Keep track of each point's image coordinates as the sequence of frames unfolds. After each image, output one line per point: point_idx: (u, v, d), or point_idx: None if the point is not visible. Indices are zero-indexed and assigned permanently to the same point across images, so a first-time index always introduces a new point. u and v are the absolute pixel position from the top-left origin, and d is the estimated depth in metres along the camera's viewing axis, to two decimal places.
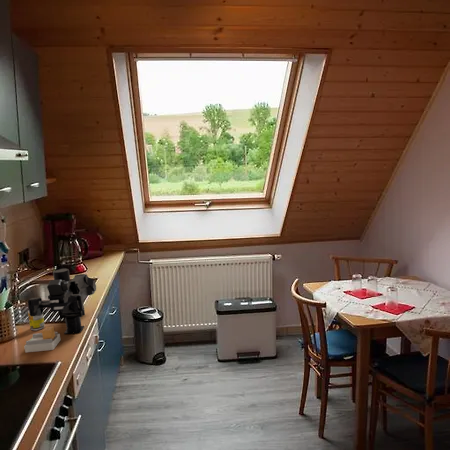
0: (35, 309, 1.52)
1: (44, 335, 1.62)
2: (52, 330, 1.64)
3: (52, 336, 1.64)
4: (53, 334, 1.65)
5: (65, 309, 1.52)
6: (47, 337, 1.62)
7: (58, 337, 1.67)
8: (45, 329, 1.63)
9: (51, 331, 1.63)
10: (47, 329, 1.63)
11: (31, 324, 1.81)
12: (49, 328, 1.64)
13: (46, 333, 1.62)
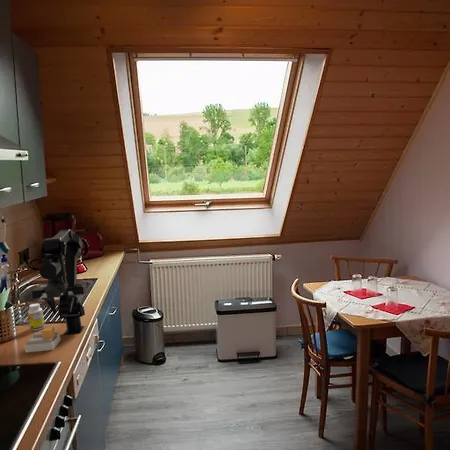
0: (52, 309, 1.62)
1: (44, 335, 1.62)
2: (52, 330, 1.64)
3: (52, 336, 1.64)
4: (53, 334, 1.65)
5: (71, 308, 1.63)
6: (47, 337, 1.62)
7: (58, 337, 1.67)
8: (45, 329, 1.63)
9: (51, 331, 1.63)
10: (47, 329, 1.63)
11: (31, 324, 1.81)
12: (49, 328, 1.64)
13: (46, 333, 1.62)
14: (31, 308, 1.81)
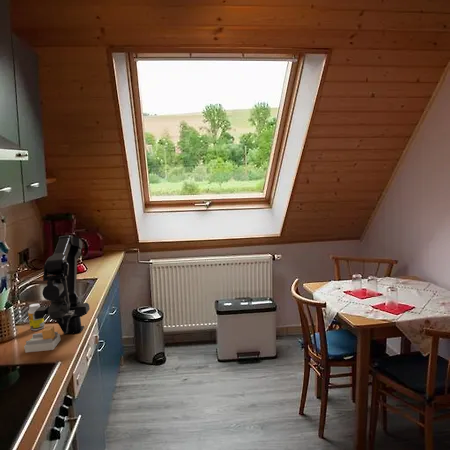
0: (61, 328, 1.63)
1: (44, 335, 1.62)
2: (52, 330, 1.64)
3: (52, 336, 1.64)
4: (53, 334, 1.65)
5: (66, 328, 1.64)
6: (47, 337, 1.62)
7: (58, 337, 1.67)
8: (45, 329, 1.63)
9: (51, 331, 1.63)
10: (47, 329, 1.63)
11: (31, 324, 1.81)
12: (49, 328, 1.64)
13: (46, 333, 1.62)
14: (31, 308, 1.81)
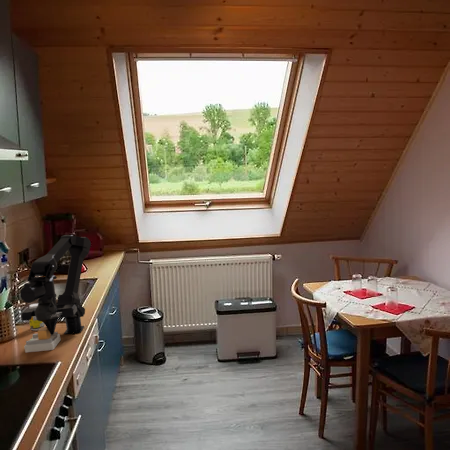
0: (49, 329, 1.63)
1: (39, 335, 1.62)
2: (48, 330, 1.64)
3: (48, 336, 1.64)
4: (49, 334, 1.65)
5: (54, 330, 1.64)
6: (42, 337, 1.62)
7: (58, 337, 1.67)
8: (40, 329, 1.63)
9: (46, 331, 1.63)
10: (43, 329, 1.63)
11: (31, 324, 1.81)
12: (45, 329, 1.64)
13: (41, 333, 1.62)
14: None
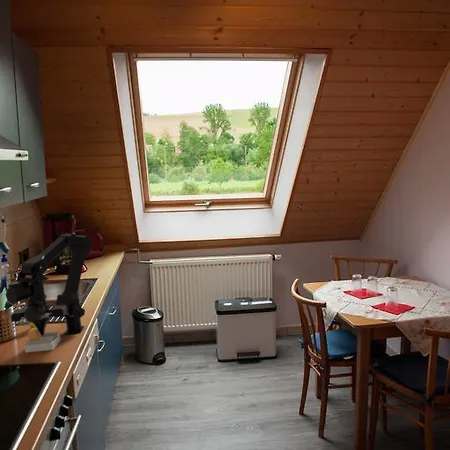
0: (39, 330, 1.63)
1: (30, 336, 1.62)
2: (38, 331, 1.64)
3: (38, 337, 1.64)
4: (39, 335, 1.65)
5: (44, 331, 1.64)
6: (33, 338, 1.62)
7: (58, 337, 1.67)
8: (31, 330, 1.63)
9: (37, 332, 1.63)
10: (33, 330, 1.63)
11: (31, 324, 1.81)
12: (35, 329, 1.63)
13: (32, 334, 1.62)
14: None
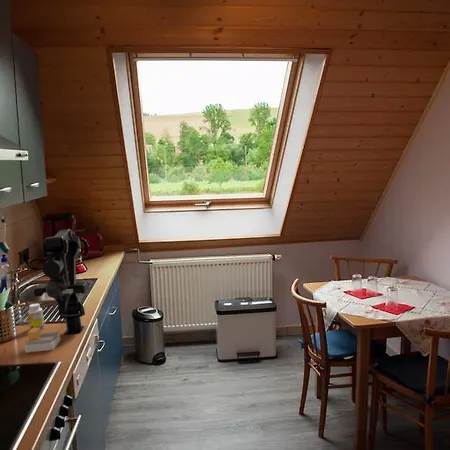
0: (60, 306, 1.62)
1: (30, 336, 1.62)
2: (38, 331, 1.64)
3: (38, 337, 1.64)
4: (39, 335, 1.65)
5: (65, 307, 1.63)
6: (33, 338, 1.62)
7: (58, 337, 1.67)
8: (31, 330, 1.63)
9: (37, 332, 1.63)
10: (33, 330, 1.63)
11: (31, 324, 1.81)
12: (35, 329, 1.63)
13: (32, 334, 1.62)
14: (31, 308, 1.81)
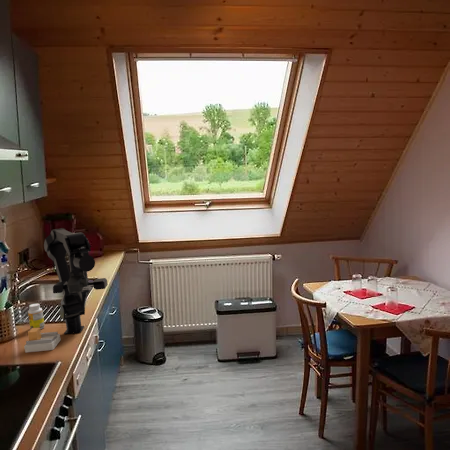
0: (80, 303, 1.63)
1: (30, 336, 1.62)
2: (38, 331, 1.64)
3: (38, 337, 1.64)
4: (39, 335, 1.65)
5: (84, 303, 1.64)
6: (33, 338, 1.62)
7: (58, 337, 1.67)
8: (31, 330, 1.63)
9: (37, 332, 1.63)
10: (33, 330, 1.63)
11: (31, 324, 1.81)
12: (35, 329, 1.63)
13: (32, 334, 1.62)
14: (31, 308, 1.81)
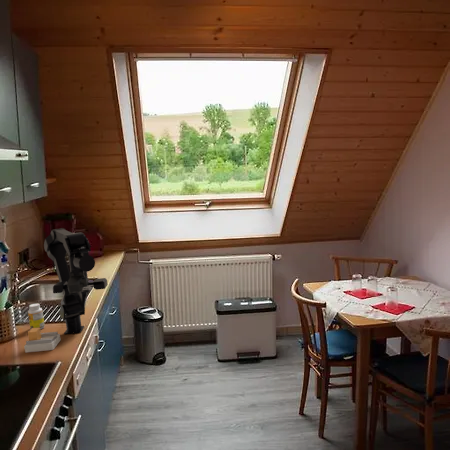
0: (80, 303, 1.63)
1: (30, 336, 1.62)
2: (38, 331, 1.64)
3: (38, 337, 1.64)
4: (39, 335, 1.65)
5: (84, 303, 1.64)
6: (33, 338, 1.62)
7: (58, 337, 1.67)
8: (31, 330, 1.63)
9: (37, 332, 1.63)
10: (33, 330, 1.63)
11: (31, 324, 1.81)
12: (35, 329, 1.63)
13: (32, 334, 1.62)
14: (31, 308, 1.81)
